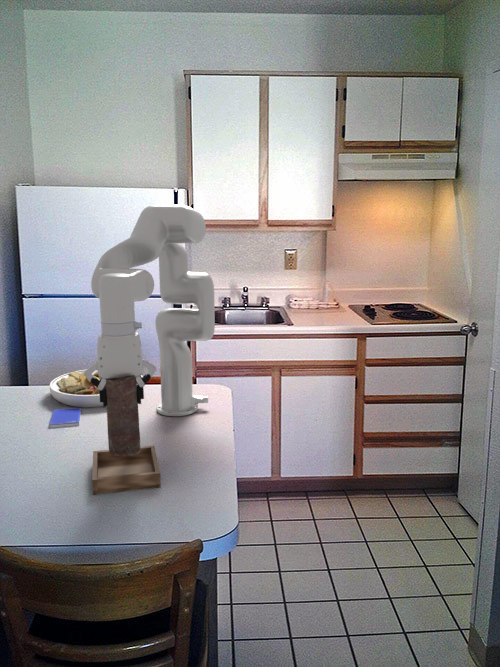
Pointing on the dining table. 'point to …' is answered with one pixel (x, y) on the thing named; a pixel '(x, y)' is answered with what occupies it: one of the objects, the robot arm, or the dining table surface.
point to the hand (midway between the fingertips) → (122, 402)
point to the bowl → (76, 390)
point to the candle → (122, 416)
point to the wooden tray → (125, 471)
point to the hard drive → (65, 417)
